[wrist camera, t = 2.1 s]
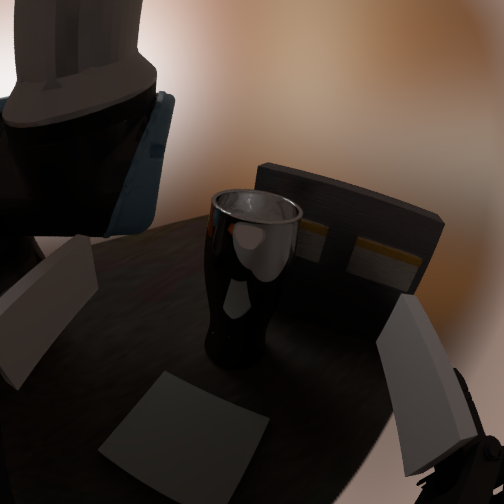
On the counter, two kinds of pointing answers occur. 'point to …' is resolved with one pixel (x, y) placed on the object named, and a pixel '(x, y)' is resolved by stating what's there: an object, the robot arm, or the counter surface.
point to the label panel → (350, 251)
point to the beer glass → (246, 270)
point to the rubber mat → (186, 442)
